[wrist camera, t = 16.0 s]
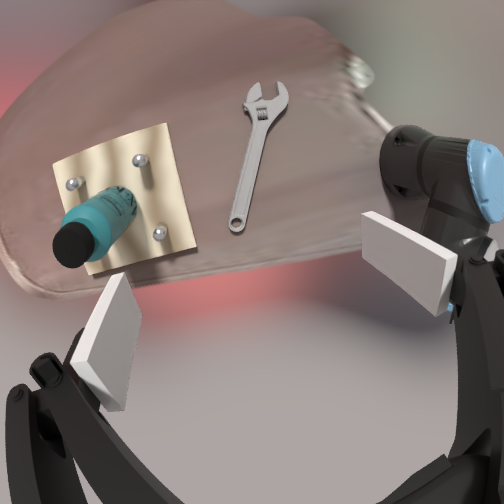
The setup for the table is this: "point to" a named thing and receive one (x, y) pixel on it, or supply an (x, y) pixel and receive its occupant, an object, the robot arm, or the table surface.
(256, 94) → the adjustable wrench
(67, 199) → the birch board
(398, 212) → the table surface
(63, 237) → the beverage bottle
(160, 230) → the steel pegs
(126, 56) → the table surface
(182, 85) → the table surface
